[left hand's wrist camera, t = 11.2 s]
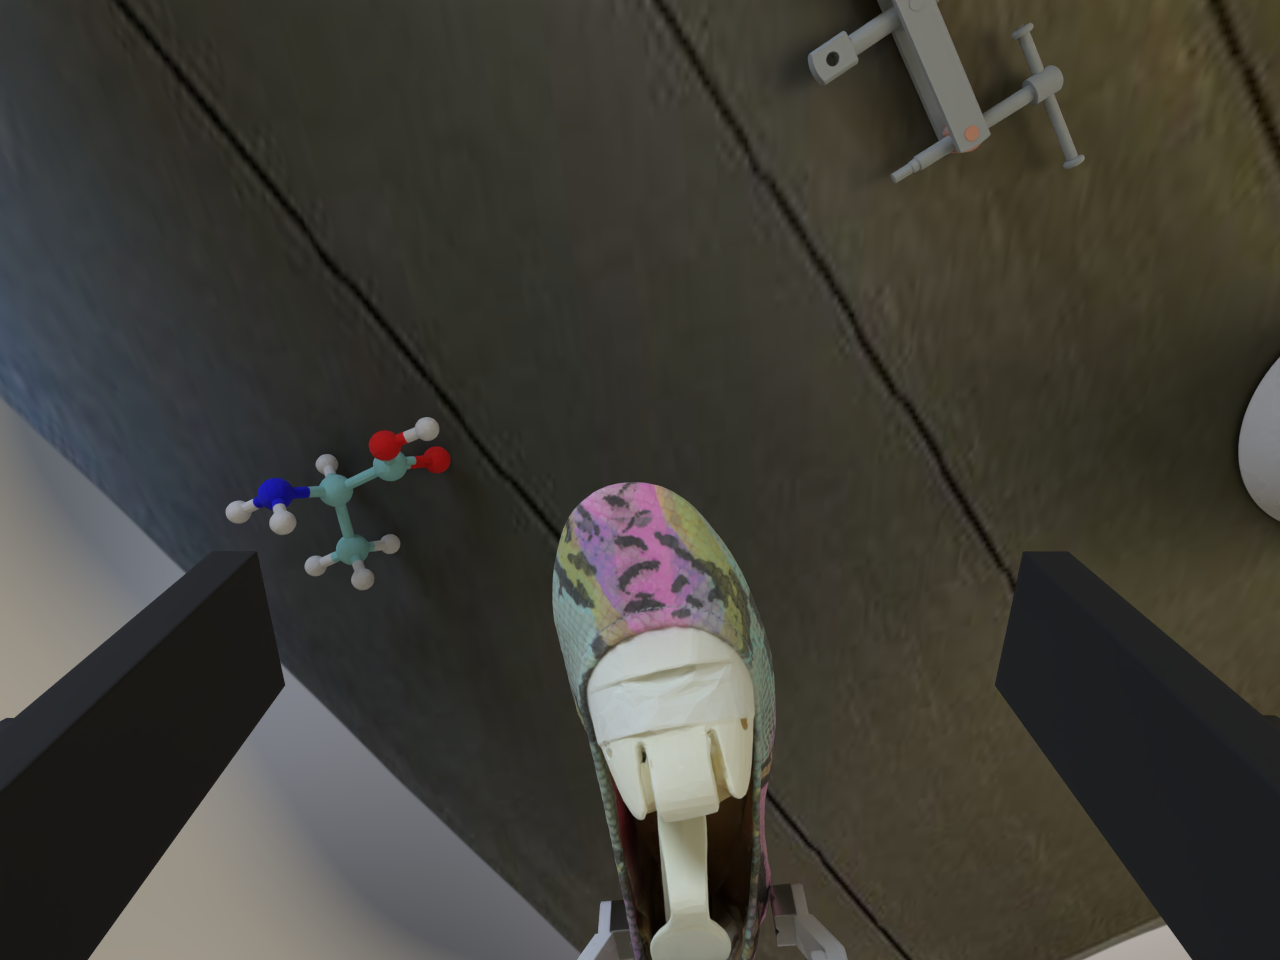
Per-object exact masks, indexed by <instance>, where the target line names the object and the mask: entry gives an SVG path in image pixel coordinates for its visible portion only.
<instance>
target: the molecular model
mask: <svg viewBox="0 0 1280 960" xmlns="http://www.w3.org/2000/svg"><path fill="white" fill-rule="evenodd" d="M438 433H439V425H438V423H437V422H436V421H435V420H434V419H432V418H430V417H424V418H422V419H419V420H418V422H417V423H416V425H415V428H412V429H410V430H407V431H405V432H402V433H400V434H397V435H396V434H394V433H393V432H391V431H386V430H384V431H379V432H377V433H375V434H374V435H373V436H372V438H371V439H370V442H369V449H370V452H371V453H372V455H373V456H374V457H375V458H374V461H373V467H372V468H370V469H367V470H365V471H363V472H361V473H359V474H357V475H355V476H353V477H351V478H349V479H347V478H346V477H344V476H342V475H336V472H335V471H336V470H337V468H338V462H337V459H336V458H335V457H334V456H332V455H330V454H325V455H322V456H320V457H319V458H318V459H317V461H316V468H317V470H318V471H319V472H320V473H322V474H324V475H325V477H326V478H324V479H323V480H322V482H321V483H320V486H311V487H293V488H292V486H291V485H290V484H289V483H288V482H287V481H285V480H283V479H281V478H272V479H269V480H266V481H265V482H264V483H263V484H262V485H261V486H260V488H259V490H258V497H256V498H254V499H252V500H250V501H248V502H244V501H234V502H232V503H230V504H229V505H228V507H227V508H226V516H227V518H228V519H229V520H230V521H231V522H234V523H244V522H246V521H247V520H248V519H249V518H250V516H251V514H252V512H253V511H256V510H258V509H260V508H262V507H266V508H268V509H270V510H273V512H274V514H273V516H272V517H271V519H270V523H269V524H270V528H271V529H272V530H273V531H274V532H275V533H277V534H280V535H285V534H288V533H290V532H292V531H293V530H294V528H295V526H296V519H295V517H294V515H293V514H292V513H290V512H288V511H287V510H286V507H287V506H288V505H289V504H290V503H291V501H292V500H293V499H296V498H311V497H320V498H321V499H322V501H323V502H324V503H326V504H327V505H330V506H334V507H335V510H336V513H337V517H338V520H339V523H340V527H341V530H342V534H343V537H342V538H341V539H340V540H339V542H338V543H337V546H336V551H335V552H333V553H331V554H329V555H326V556H324V557H321V556H312V557H310V558H309V559H307V561H306V563H305V570H306V572H307V573H308V574H309V575H311V576H320V575H322V574H323V573H324V572H325V571H326V568H327V566H329V565H332V564H334V563H336V562H338V561H342V562H344V563H346V564H349V565H352V566H353V569H354V574H353V575H352V578H351V581H352V584H353V586H354V587H355V588H356V589H359V590H366V589H368V588H370V587H371V586H372V585H373V583H374V575H373V573H372V572H371V571H370V570H368V569H366V568H365V566H364V563H363V561H364V560H365V559H366V557H367V556H368V553H369V552H373V551H380V550H382V551H383V552H384V553H387V554H393V553H395V552H397V551H398V549H399V548H400V540H399V538H398V537H397V536H395V535H393V534H388V535H385V536H383V537H382V539H381V540H380V541H372V542H367V540H366V539H365V538H364V537H362V536H361V535H358V534H354V531H353V528H352V524H351V521H350V517H349V514H348V510H347V507H346V503H347V502H348V501H349V500H350V499H351V497H352V495H353V488H355V487H357V486H359V485H361V484H363V483H366V482H368V481H370V480H372V479H374V478H376V477H378V476H379V477H380V478H381V479H383V480H386V481H395V480H398V479H400V478H401V477H402V476H403V475H404V474H405V472H406V470H407V469H414V468H423V467H425V468H426V469H427V470H428V471H430V472H432V473H441V472H443V471H445V470H446V469H447V468H448V467H449V465H450V455H449V453H448V452H447V451H446V450H445V449H444V448H442V447H436V446H435V447H431V448H429V449H428V450H426V452H425V453H424V455H421V456H410V457H405V456H404V454H403V453H401V452H400V450H401V446H402V445H404V444H407V443H409V442H412V441H414V440H417V439H419V438H420V439H422V440H424V441H430V440H433V439H434V438H436V437H437V435H438Z"/></svg>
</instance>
